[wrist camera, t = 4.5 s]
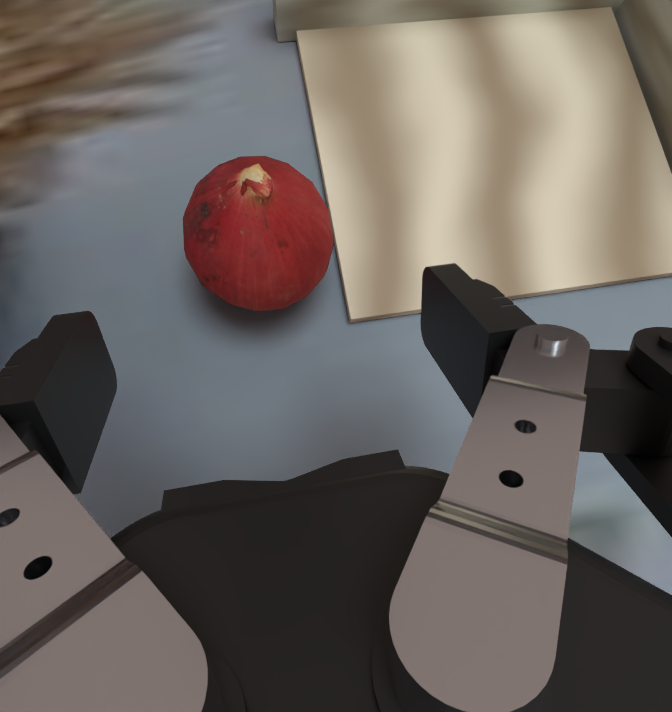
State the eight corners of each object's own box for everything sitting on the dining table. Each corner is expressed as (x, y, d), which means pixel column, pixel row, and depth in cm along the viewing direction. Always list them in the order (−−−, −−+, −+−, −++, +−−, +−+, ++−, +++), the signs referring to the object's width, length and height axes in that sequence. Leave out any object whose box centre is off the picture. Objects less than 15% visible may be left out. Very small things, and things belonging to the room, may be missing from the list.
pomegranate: (206, 338, 22) (157, 267, 14) (198, 223, 23) (148, 98, 15) (334, 326, 23) (353, 250, 15) (319, 213, 24) (330, 89, 16)
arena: (330, 336, 22) (341, 289, 17) (273, 19, 26) (267, -110, 20) (734, 276, 25) (868, 216, 19) (628, -7, 29) (713, -129, 23)
